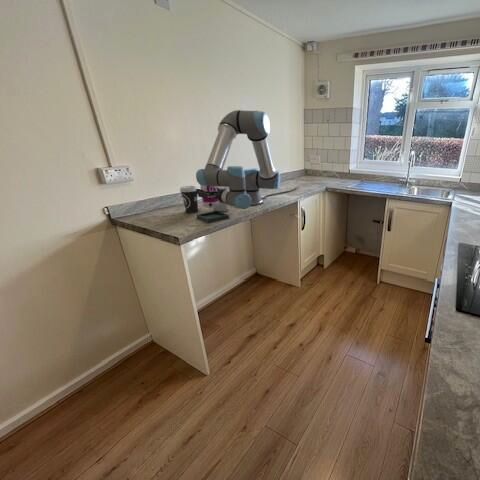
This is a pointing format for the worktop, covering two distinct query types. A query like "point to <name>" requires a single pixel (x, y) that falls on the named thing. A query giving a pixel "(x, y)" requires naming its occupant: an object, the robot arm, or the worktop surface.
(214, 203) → the supplement can
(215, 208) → the medicine box
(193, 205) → the coffee cup
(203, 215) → the base pad
